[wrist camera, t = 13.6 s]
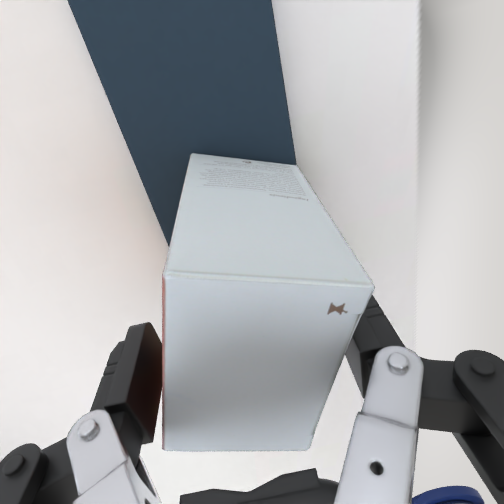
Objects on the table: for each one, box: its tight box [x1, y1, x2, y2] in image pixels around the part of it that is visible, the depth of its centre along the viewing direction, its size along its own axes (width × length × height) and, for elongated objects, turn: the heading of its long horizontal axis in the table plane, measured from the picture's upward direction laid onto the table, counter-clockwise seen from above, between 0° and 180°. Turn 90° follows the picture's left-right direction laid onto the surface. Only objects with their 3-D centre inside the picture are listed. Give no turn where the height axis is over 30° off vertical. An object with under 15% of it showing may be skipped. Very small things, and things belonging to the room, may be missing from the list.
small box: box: [162, 153, 375, 451], centre depth 15 cm, size 8×6×10 cm
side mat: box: [68, 0, 297, 247], centre depth 19 cm, size 22×8×1 cm, turn 12°
